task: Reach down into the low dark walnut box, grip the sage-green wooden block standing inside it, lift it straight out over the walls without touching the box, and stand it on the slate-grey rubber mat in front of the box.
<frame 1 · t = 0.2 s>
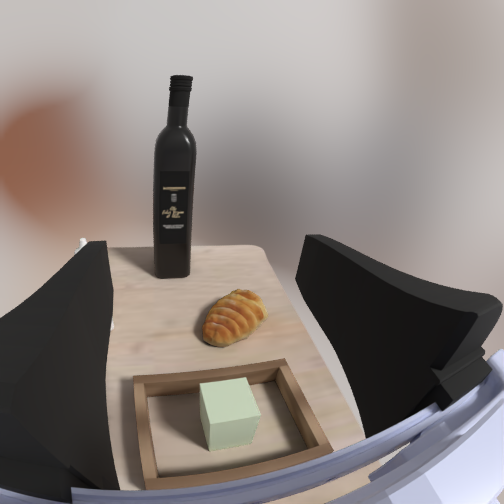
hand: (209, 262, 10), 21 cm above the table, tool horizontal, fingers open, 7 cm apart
wine bottle: (171, 270, 47), on the table
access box: (225, 430, 24), on the table
wood block: (225, 430, 24), resting in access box
pastry: (234, 326, 38), on the table
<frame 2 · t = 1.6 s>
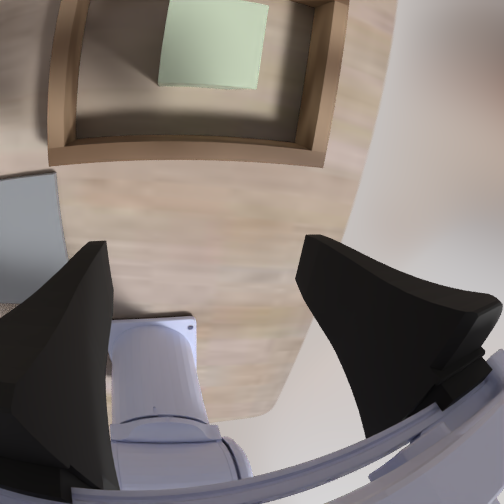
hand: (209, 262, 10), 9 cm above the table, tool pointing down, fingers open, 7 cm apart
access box: (196, 55, 14), on the table
wood block: (196, 55, 14), resting in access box
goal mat: (19, 245, 16), on the table
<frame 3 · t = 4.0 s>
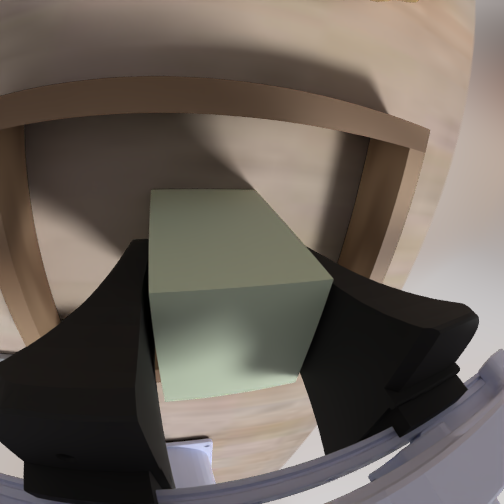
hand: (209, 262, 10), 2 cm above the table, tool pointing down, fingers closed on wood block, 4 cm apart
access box: (201, 236, 12), on the table
wood block: (201, 236, 12), resting in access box, touching gripper
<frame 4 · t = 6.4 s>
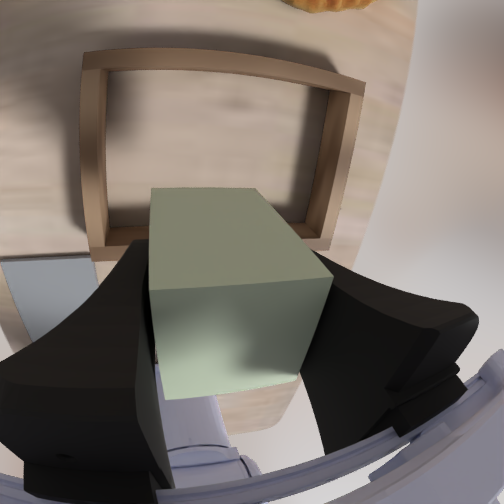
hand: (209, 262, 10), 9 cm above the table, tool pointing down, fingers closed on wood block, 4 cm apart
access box: (218, 151, 17), on the table
wood block: (201, 234, 12), point 7 cm above the table, touching gripper
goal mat: (59, 310, 19), on the table
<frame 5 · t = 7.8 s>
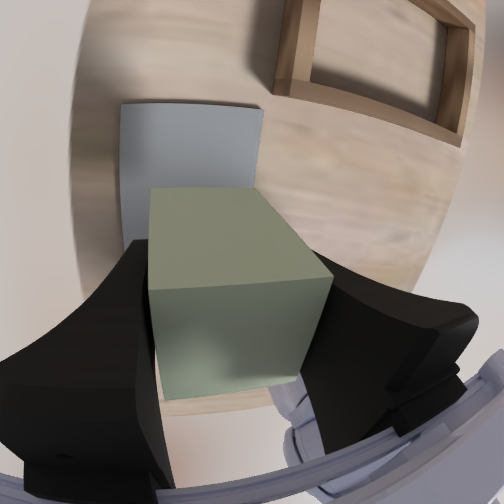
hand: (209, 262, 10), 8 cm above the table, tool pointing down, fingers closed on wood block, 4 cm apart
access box: (387, 43, 15), on the table
wood block: (201, 234, 12), point 6 cm above the table, touching gripper
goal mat: (186, 187, 17), on the table
when the fingers open (3 cm above the table, at t = 9.0 s): wood block drops 1 cm, resting on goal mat.
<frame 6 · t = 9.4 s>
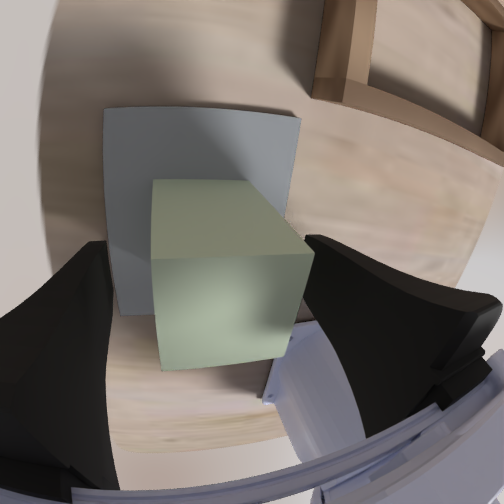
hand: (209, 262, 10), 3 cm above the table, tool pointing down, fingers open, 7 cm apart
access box: (438, 43, 11), on the table
wood block: (198, 223, 13), resting on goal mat
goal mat: (196, 221, 13), on the table
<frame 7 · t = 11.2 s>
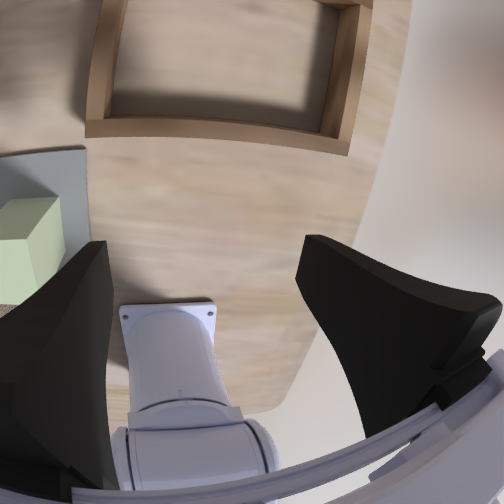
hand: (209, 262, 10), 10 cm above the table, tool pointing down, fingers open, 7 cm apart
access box: (233, 45, 15), on the table
wood block: (37, 225, 16), resting on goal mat
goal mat: (39, 223, 16), on the table
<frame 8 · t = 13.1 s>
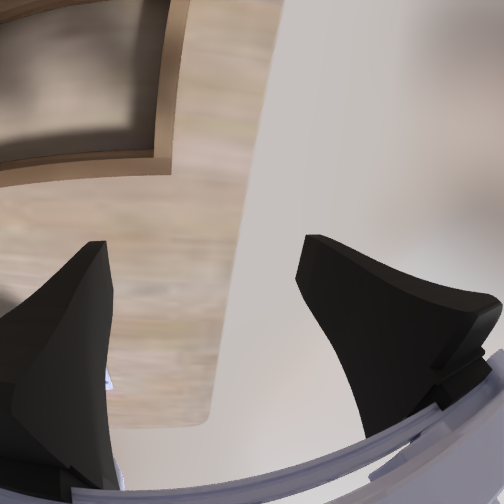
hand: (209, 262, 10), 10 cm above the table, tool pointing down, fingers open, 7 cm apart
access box: (51, 79, 12), on the table
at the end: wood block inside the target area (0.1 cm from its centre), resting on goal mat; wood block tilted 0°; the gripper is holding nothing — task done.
